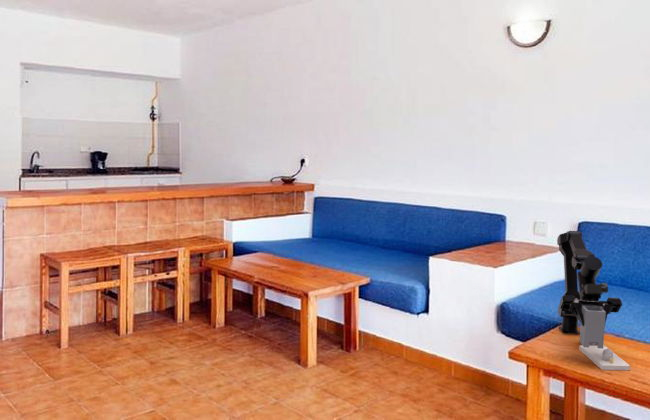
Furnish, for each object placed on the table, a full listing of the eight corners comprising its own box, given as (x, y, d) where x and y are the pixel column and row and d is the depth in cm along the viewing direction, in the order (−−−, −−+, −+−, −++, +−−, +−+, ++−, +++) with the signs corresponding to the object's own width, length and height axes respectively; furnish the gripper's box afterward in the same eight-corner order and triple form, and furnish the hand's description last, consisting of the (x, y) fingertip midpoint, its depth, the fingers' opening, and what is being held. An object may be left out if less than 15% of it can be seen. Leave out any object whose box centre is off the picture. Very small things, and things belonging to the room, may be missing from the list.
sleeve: (579, 340, 197) (581, 305, 195) (598, 342, 195) (600, 306, 194) (583, 347, 191) (586, 310, 189) (603, 348, 190) (605, 312, 188)
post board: (579, 349, 205) (580, 335, 205) (604, 349, 205) (605, 335, 204) (601, 369, 187) (602, 354, 187) (629, 370, 187) (630, 355, 187)
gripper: (563, 272, 196) (568, 313, 186) (622, 274, 192) (630, 316, 183) (557, 288, 204) (562, 328, 195) (613, 291, 201) (621, 332, 191)
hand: (593, 326), depth 191 cm, fingers closed on sleeve, 6 cm apart
